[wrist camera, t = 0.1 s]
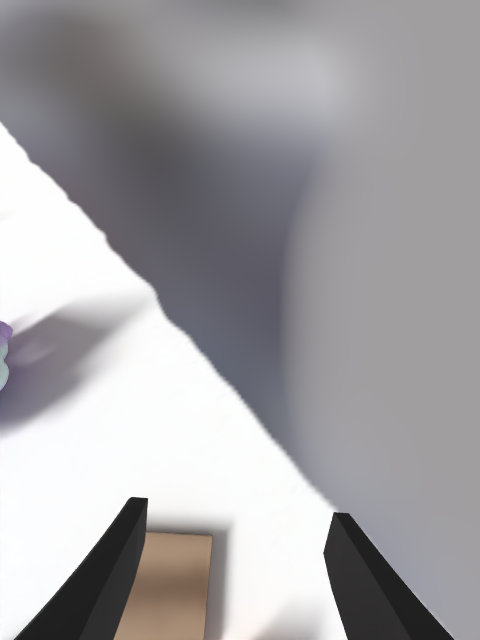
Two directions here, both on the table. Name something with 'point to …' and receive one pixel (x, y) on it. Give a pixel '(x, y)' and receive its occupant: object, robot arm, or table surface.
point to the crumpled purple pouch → (4, 352)
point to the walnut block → (169, 589)
